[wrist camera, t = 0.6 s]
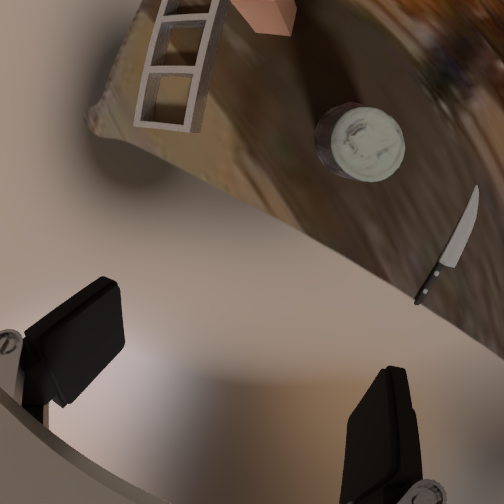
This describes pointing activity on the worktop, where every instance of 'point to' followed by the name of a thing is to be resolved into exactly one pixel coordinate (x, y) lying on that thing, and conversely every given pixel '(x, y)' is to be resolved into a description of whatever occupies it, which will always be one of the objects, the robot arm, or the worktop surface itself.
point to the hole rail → (199, 72)
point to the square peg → (268, 15)
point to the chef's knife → (454, 243)
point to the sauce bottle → (359, 142)
